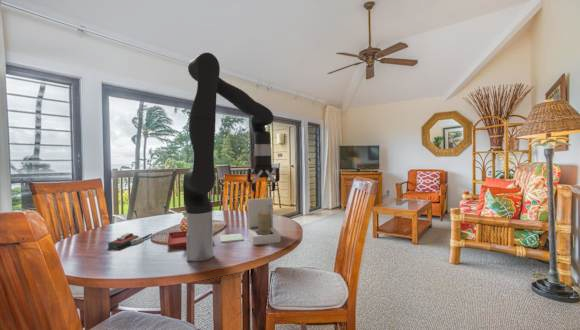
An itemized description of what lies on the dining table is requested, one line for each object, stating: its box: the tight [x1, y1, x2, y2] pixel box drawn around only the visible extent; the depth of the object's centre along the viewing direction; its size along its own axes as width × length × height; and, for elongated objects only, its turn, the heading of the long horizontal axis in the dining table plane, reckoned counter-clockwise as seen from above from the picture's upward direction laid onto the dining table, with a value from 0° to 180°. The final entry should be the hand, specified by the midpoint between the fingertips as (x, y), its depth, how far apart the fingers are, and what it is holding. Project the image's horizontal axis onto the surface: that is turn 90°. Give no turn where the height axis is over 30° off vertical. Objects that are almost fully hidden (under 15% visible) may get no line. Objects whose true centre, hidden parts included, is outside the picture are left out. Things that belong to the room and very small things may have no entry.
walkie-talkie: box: [107, 232, 153, 250], centre depth 122 cm, size 9×4×20 cm
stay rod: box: [269, 204, 272, 227], centre depth 131 cm, size 1×2×11 cm, turn 17°
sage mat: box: [219, 233, 244, 244], centre depth 126 cm, size 10×10×1 cm
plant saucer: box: [166, 230, 187, 250], centre depth 122 cm, size 18×18×3 cm
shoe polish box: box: [258, 213, 270, 235], centre depth 122 cm, size 5×5×12 cm
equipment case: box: [246, 197, 281, 246], centre depth 125 cm, size 12×15×18 cm
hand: (263, 191), depth 122 cm, fingers open, 8 cm apart
